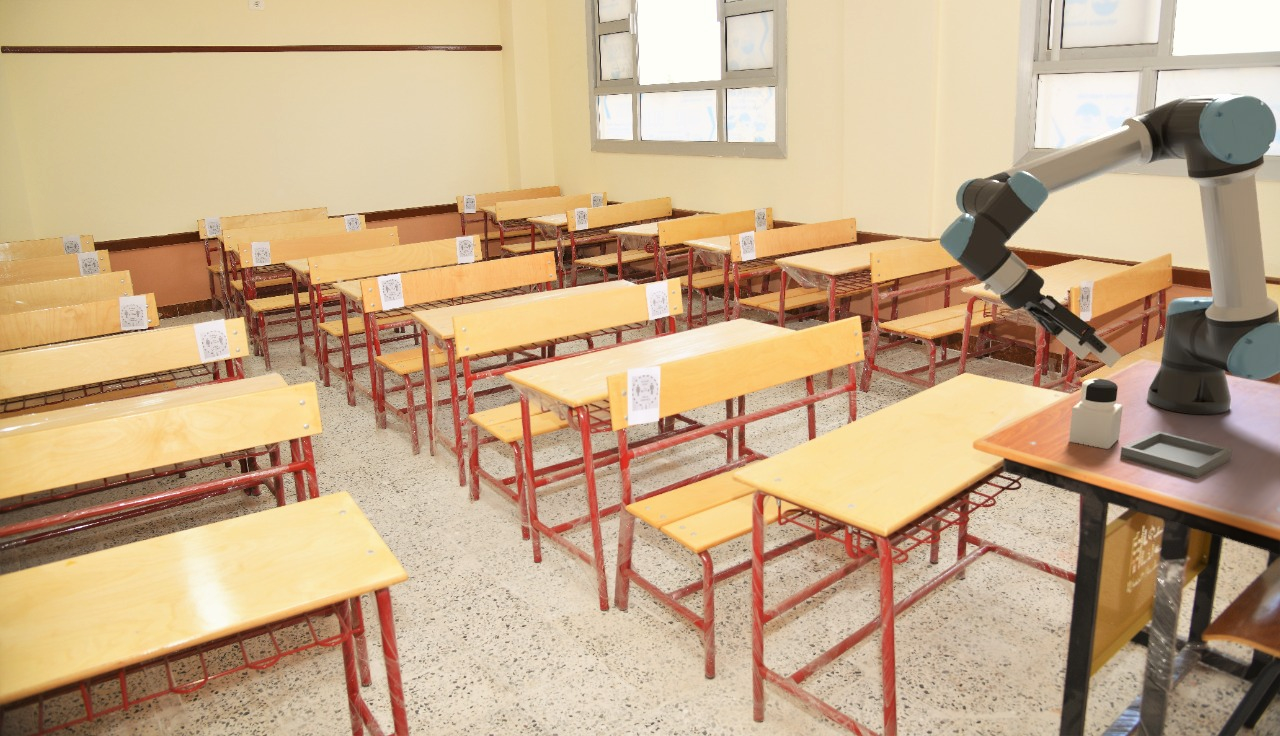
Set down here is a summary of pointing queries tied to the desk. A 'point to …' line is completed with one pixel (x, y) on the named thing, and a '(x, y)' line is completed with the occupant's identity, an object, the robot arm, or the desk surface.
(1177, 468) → the bottle tray
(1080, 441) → the medicine bottle
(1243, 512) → the desk surface
